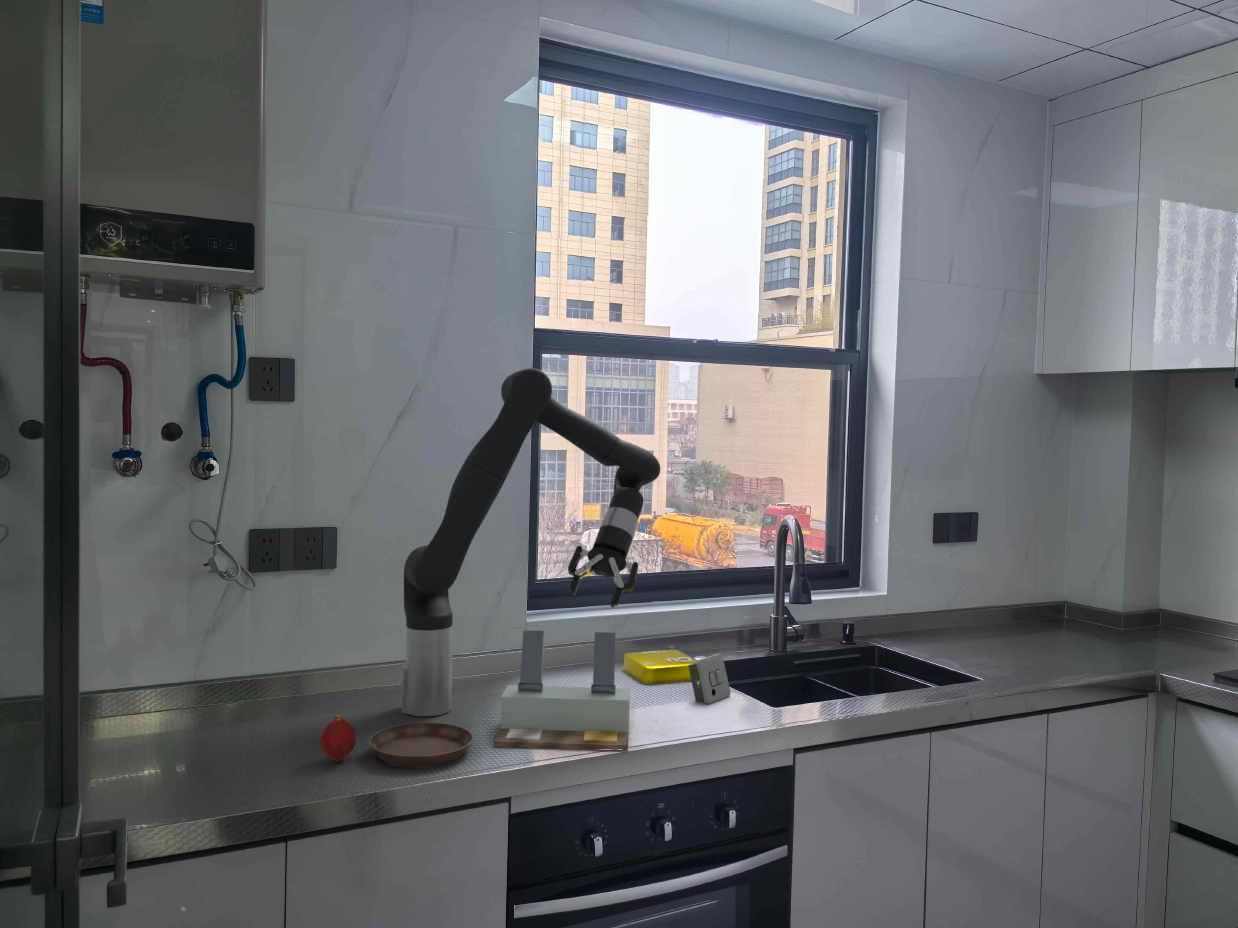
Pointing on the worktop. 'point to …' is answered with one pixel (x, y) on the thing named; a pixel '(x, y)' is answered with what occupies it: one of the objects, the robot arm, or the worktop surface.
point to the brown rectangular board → (561, 739)
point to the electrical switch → (709, 679)
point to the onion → (338, 739)
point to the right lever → (604, 663)
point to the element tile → (658, 666)
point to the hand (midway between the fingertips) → (592, 600)
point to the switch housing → (565, 709)
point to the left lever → (532, 661)
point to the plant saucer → (421, 744)
